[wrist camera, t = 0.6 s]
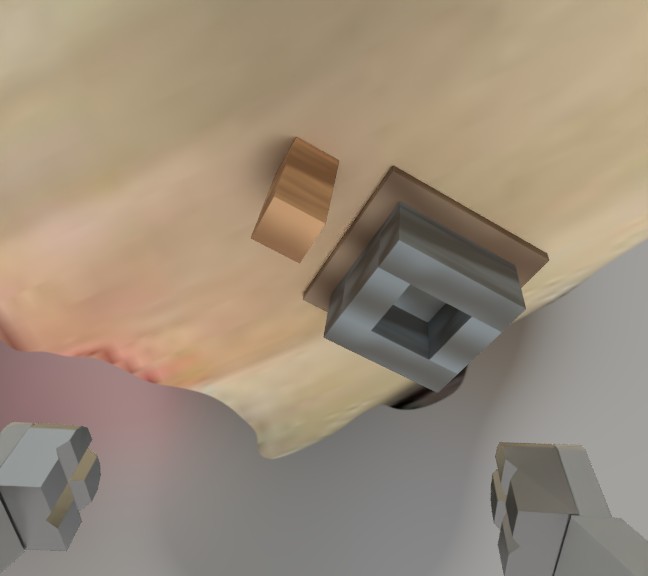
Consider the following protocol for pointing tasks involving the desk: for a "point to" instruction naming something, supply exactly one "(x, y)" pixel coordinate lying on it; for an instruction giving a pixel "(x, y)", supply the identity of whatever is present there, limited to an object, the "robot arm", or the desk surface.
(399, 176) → the hole block
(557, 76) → the desk surface
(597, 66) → the desk surface
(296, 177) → the peg
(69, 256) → the desk surface
